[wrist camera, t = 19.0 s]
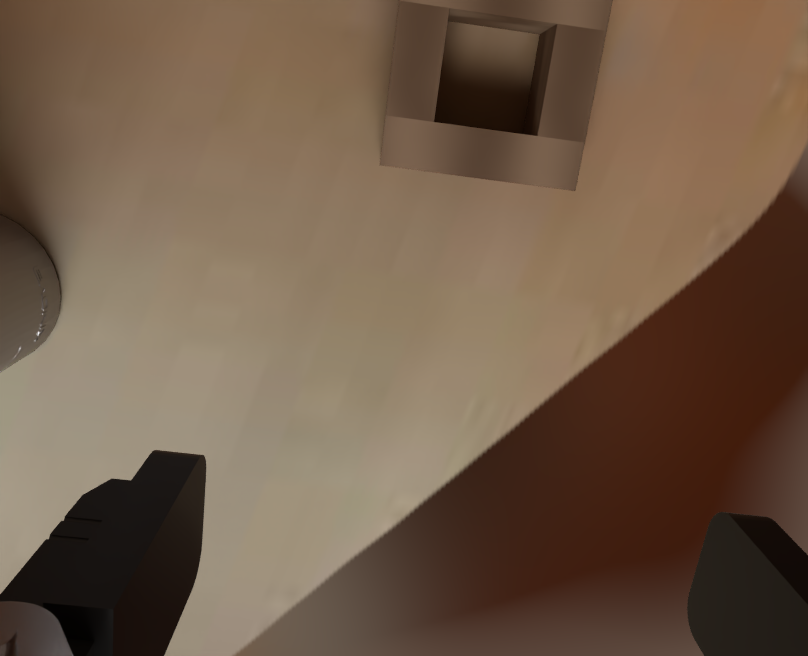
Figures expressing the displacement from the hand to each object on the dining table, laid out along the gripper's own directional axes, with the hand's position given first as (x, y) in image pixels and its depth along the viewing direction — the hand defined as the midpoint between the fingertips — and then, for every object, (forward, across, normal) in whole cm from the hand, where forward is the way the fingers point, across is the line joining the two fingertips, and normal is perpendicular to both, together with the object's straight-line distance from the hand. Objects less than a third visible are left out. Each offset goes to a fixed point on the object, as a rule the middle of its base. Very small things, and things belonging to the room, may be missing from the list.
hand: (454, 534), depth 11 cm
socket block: (+30, -3, -9) cm, 32 cm away
